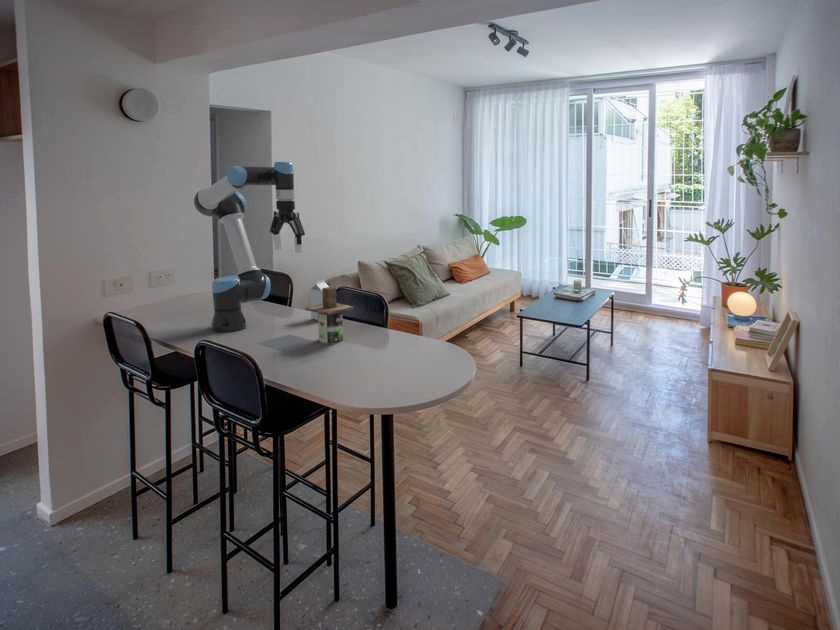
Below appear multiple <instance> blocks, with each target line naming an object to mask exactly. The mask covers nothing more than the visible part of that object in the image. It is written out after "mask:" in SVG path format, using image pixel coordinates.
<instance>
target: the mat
mask: <svg viewBox="0 0 840 630" xmlns="http://www.w3.org/2000/svg"><path fill="white" fill-rule="evenodd" d="M313 343H316V340H311V339H308V338H304V337H301V336H297V335H294V334H293V335H292V334H286V335H282V336H278V337H275V338H271V339H267V340H263V341H259V342H257V344H258V345H261V346H264V347H269V348H271V349H274V350H278V351H281V352H285V351H288V350H292V349H295V348H299V347H302V346H305V345H309V344H313Z"/></svg>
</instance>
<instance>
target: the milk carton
mask: <svg viewBox="0 0 840 630" xmlns="http://www.w3.org/2000/svg"><path fill="white" fill-rule="evenodd" d="M326 287H330V286H329V285H328V284H327V283H326V281H325V279H322V280H319V281H316V282H315V283H314V284H313V286H312V287H311V288H310V290H309V291H310V292H309V294H310V296H309V297H310V306H315V305H319V304H323V296H322V288H326ZM310 316H311V317H310V319H315V320H314V321H318V313H317V312H313V311H310Z"/></svg>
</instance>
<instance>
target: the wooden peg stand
mask: <svg viewBox="0 0 840 630" xmlns="http://www.w3.org/2000/svg"><path fill="white" fill-rule="evenodd" d="M322 296H323V304H319V305H315V306H311V305H310V306H307V307H305V311H308V312H311V311H313V312H317V313H322V314H326V315H332V314H336V313H340V312H342V313H343V312H346V311H350V310H354V309H355V306H353V305H348V304H343V303H339V302H337V301H338V300H337V288H336V287H333V286H329V287H326V288H322Z"/></svg>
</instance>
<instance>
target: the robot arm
mask: <svg viewBox="0 0 840 630" xmlns="http://www.w3.org/2000/svg"><path fill="white" fill-rule="evenodd" d="M294 172H295V171H294V165H293V163H292V162H291V161H274V163H273V166H249V165H247V166H246V165H243V166H242V165H234V166H233V165H232V166H230V167H229V168H228V169H227V171H226V176H224V177H222V178H221V179H219V180H218V181H216V182H215V183H213V184H212V185H211V186H209V187H208V188H202V189H201V190H199V191H197V192H196V193H195V195H194V198H193V205H194V208H195V209H196V211H197V212H199V213H200V214H201V215H203V216H205V217H218V222H219V223H221V224H223V225H224V228H225V233H226V235H227V240H228V243H229V246H230V249H231V252H232V256H233V258H234V262H235V265H236V268H237V269H236V270H237V274H236V275H235V274H234V275H233V274H230V275H223V276H219V277H217V278H215V279H214V280H213V281H212V283H211V284H212V285H211V287H212V288H211V291H212V298H213V299H212V300H213V311H214V312H213V316H212V321H211V330H212V331H214V332H219V333H229V332H236V331H240V330H244V329H246V328H247V320H246V318H245V316H244V314H243V311H242V304H245V303H249V302H255V301H258V302H259V301H261V300H264V299H267V298H268V296H269V295H270V291H271V286H272V284H271V280H270V277H269V276H267V275H266V274H264V273H263V272H262V269H261V268H258V266H257V264H256V260H255V257H254V253H253V250H252V248H251V247H252V246H251V244H250V242H249V237H248V235H247V231H246V228H245V225H244V222H243V219H244V218H245V214H246V211H247V203H246V202H247V201H246V199H245V197H244V196H243V195H242V194H241V192H239V191H240V190H241V189H244V188H245V187H246V186H247V187H248V186H275V199H276V202H275V205H276V211H273V217H272V222H271V225H270V229H269V233H271V234H272V235H273V242H274V243H273V244H274V250H275V251H279V250H282V242H281V241H282V240H281V233H280V232H281V230H282V228H283V226H284V224H288V225H289V227H290V228H291V230H292V232H293V233H294V234H293V235H294V253H295V254H296V253H297V254H298V253H302V244H303V243H302V237H303V236H305V235H306V233H305V229H304V227H303V224H302V222H301V219H300V213H299V212H294V210H295V209H296V203H295V202H296V201H295V198H296V197H295V188H294V187H295V181H294V180H295V178H294V177H295V175H294Z"/></svg>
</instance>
